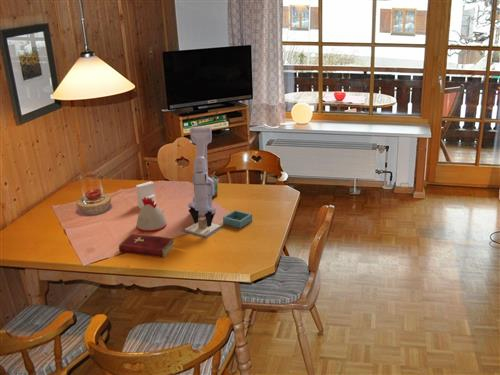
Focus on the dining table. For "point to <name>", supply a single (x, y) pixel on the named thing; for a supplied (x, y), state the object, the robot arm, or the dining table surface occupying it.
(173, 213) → the dining table surface
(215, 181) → the food container
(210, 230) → the lid
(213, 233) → the mat
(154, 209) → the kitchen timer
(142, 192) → the base with upright slab
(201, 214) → the robot arm
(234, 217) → the teal square tray
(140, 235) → the hardcover book
